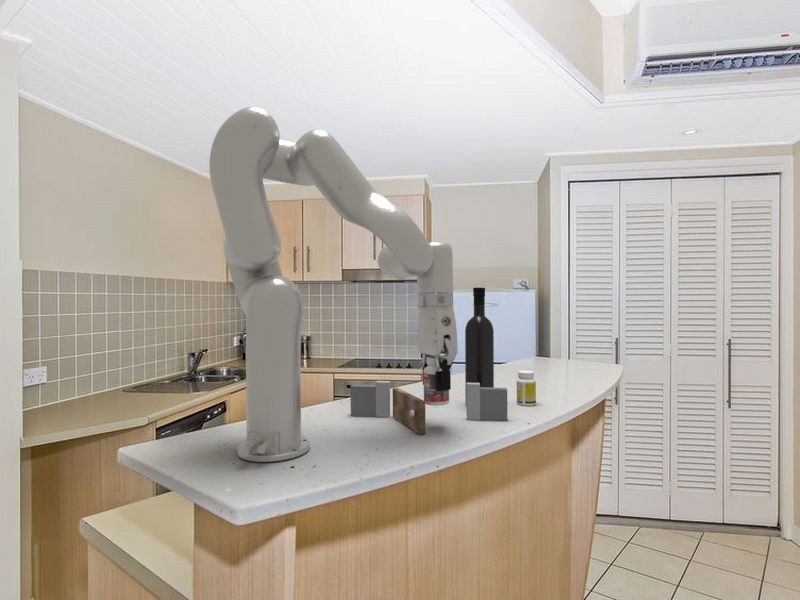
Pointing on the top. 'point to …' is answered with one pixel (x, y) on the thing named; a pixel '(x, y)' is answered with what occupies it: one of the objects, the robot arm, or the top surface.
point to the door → (409, 410)
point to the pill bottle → (433, 385)
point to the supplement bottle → (526, 388)
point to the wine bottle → (479, 345)
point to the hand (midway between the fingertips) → (436, 386)
